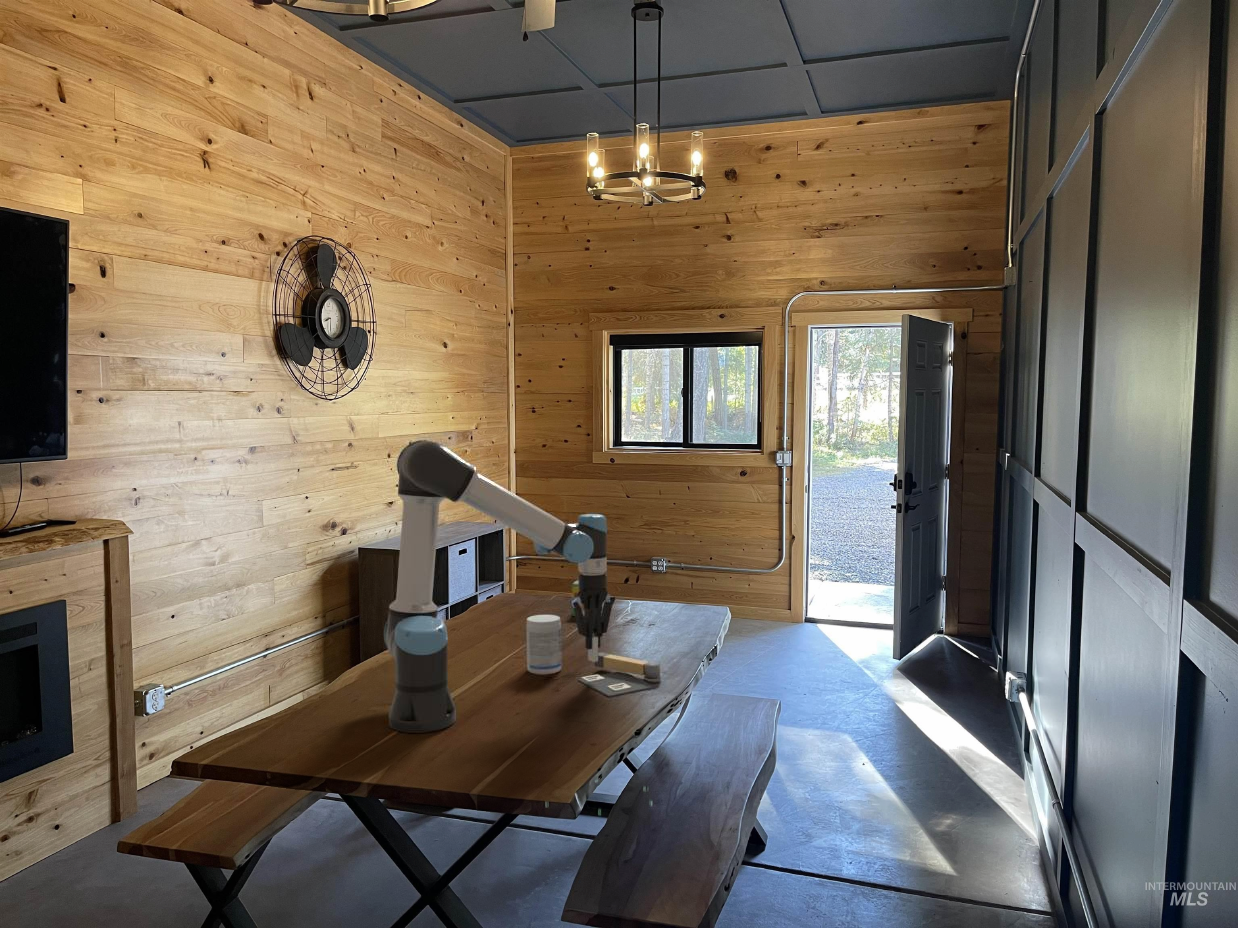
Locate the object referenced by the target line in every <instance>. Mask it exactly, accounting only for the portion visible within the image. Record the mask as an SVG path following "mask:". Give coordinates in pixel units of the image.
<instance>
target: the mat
mask: <svg viewBox="0 0 1238 928" xmlns="http://www.w3.org/2000/svg"><path fill="white" fill-rule="evenodd" d="M599 675H600V676H602V677H604V678H605V679H604V680H599V681H593V682H587V681H585V680H583V679H581V678H578V679H577V681H578V682H579V683H582V684H584V685H586V686H587V687H589V688H591V689H593V690H595V691H597V692H599V693H601V694H602V695H604V696H606V697H608V698H611V697H612V698H613V697H617V696H621V695H627V694H632V693H637V692H641V691H646V690H651V689H655V688H656V686H655V685H654V684H649V683H647V682H645V681H644V679H641V678H639V677H637V676H635V675H632V674H631V673H627V672H622V671H614V672H609V673H602V674H599ZM620 683H625V684H627V685H629V686H631V687H632V688H630V689H625V690H620V691H613V690H611V689H609V688H607V686H610V685H615V684H620Z"/></svg>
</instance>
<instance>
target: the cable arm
mask: <svg viewBox="0 0 1238 928" xmlns="http://www.w3.org/2000/svg"><path fill="white" fill-rule="evenodd" d="M594 667H596V668H602V669H604V668H605V669H609V670H614V671H617V672H619V671H622V672H626V673H628V674H631V675H632V674H633V675H637V676H642V677H644V676H646V677H648V678H657V677H660V676H661V664H660V663H659V662H653V661H651V662H650V661H646V660H640V659H636V658H631V657H625V656H622V655H621V656H619V655H615V654H611V653H607V652H602V651H601V652H598V661H597V662H594Z"/></svg>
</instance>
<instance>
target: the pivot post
mask: <svg viewBox="0 0 1238 928" xmlns="http://www.w3.org/2000/svg"><path fill="white" fill-rule="evenodd" d="M643 677H644V678H643V681H645V682H647V683H649V684H651V685H655V684H659V683H661V681H662V677H661V675H660V677H657V678H648V677H646V676H645V675H644V676H643Z"/></svg>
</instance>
